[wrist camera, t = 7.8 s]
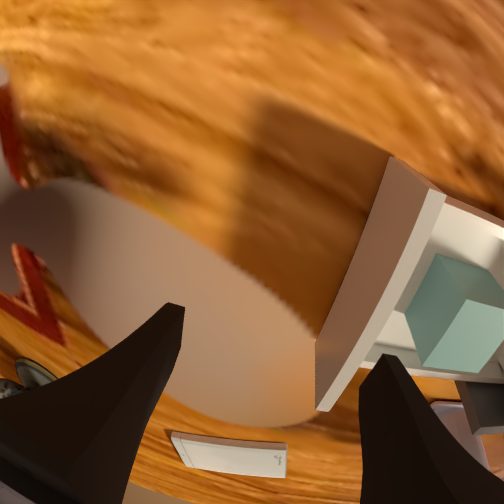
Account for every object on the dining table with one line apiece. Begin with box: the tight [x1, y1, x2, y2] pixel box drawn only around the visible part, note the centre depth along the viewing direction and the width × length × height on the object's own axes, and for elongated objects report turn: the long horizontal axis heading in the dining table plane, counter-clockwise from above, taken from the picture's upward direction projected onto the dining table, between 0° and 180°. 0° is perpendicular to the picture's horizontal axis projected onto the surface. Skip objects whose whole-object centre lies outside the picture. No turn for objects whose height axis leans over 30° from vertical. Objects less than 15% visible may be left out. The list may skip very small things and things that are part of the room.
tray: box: [315, 156, 504, 412], centre depth 16 cm, size 13×17×6 cm
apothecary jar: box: [0, 358, 57, 398], centre depth 24 cm, size 12×12×18 cm
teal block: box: [404, 253, 504, 373], centre depth 15 cm, size 4×4×4 cm
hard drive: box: [171, 431, 287, 478], centre depth 32 cm, size 2×8×12 cm
